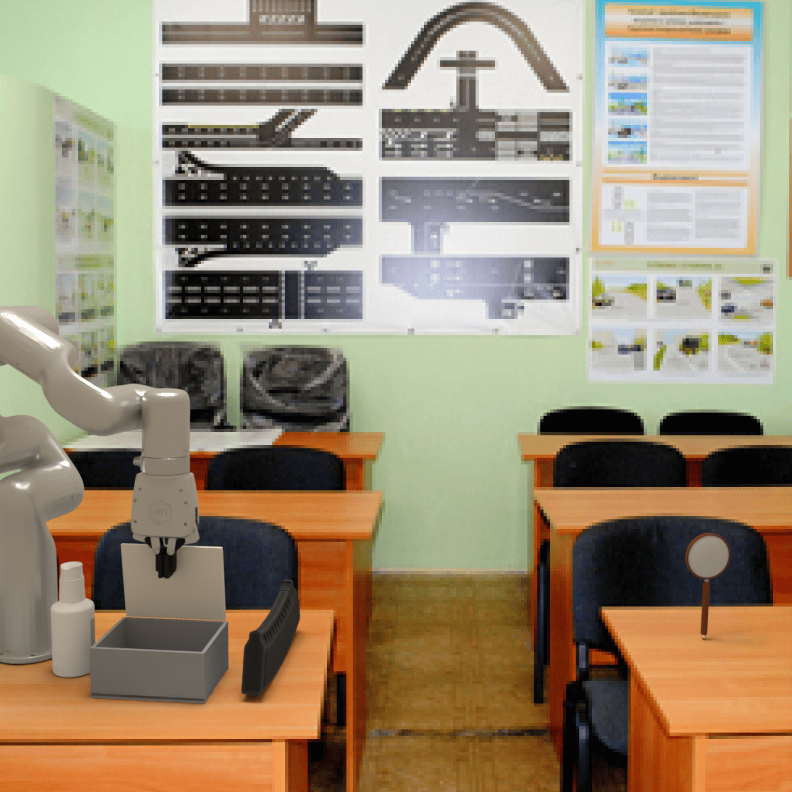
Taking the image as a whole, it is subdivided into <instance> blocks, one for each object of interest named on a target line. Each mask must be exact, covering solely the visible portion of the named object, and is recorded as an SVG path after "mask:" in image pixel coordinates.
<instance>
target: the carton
mask: <svg viewBox="0 0 792 792" xmlns="http://www.w3.org/2000/svg"><path fill="white" fill-rule="evenodd" d="M229 663H230V662H229V621H227V620H225V621H221V620H198V619H175V618H153V617H130V616H123V617H121V618H119V620H118V621H117V622H116V623H114V625H113V626H111V628H110V629H109V630H108V631H106V633H104V634H103V635H102V636H101V637H100V638H99V639H98V640H97V641H95V644H94V645H93V646H92V647H90V673H89V674H90V675H89V676H90V678H89V679H90V699H104V700H105V699H106V700H107V699H108V700H122V701H123V700H126V701H144V702H145V701H147V702H164V703H184V704H185V703H186V704H202V705H203V704H206V703H207V701H208V699H209V698H210V697H211V695H212V693H213V692H214V691H215V689H216V687H217V686H218V685H219V683H220V681H221V680H222V679H223V677H224V675H225V673H226V672H227V671H228V670H229Z"/></svg>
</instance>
